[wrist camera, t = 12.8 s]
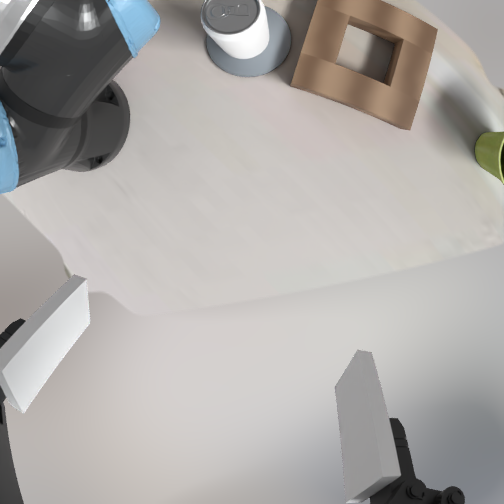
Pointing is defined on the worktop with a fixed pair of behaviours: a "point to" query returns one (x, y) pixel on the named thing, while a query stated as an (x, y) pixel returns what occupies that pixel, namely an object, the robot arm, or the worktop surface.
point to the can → (236, 26)
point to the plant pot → (491, 153)
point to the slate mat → (264, 60)
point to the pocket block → (353, 83)
